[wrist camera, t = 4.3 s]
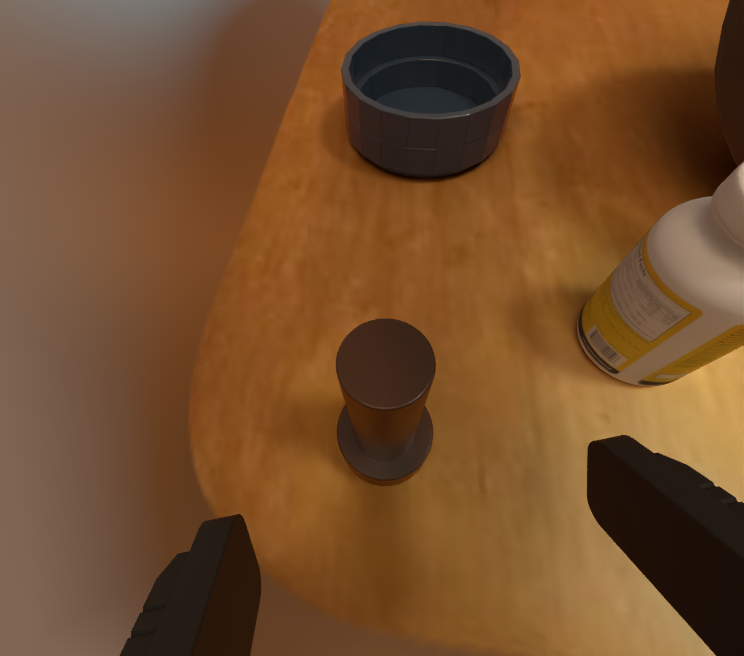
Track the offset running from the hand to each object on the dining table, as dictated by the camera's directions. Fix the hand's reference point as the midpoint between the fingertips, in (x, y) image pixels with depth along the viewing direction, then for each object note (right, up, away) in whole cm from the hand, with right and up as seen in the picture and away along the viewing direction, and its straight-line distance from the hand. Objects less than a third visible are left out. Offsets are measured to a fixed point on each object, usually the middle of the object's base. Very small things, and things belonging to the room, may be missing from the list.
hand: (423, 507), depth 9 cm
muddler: (0, -2, +12) cm, 12 cm away
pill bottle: (+15, +3, +15) cm, 21 cm away
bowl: (+4, +22, +25) cm, 33 cm away
